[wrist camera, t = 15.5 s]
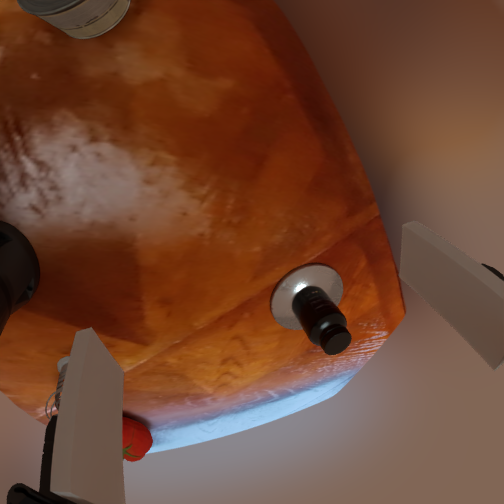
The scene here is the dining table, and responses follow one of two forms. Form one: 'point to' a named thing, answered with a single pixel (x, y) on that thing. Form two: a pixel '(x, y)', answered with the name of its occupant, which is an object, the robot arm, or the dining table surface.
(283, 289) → the hub disc
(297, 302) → the supplement bottle
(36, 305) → the dining table surface
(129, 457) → the tomato
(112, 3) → the coffee can
